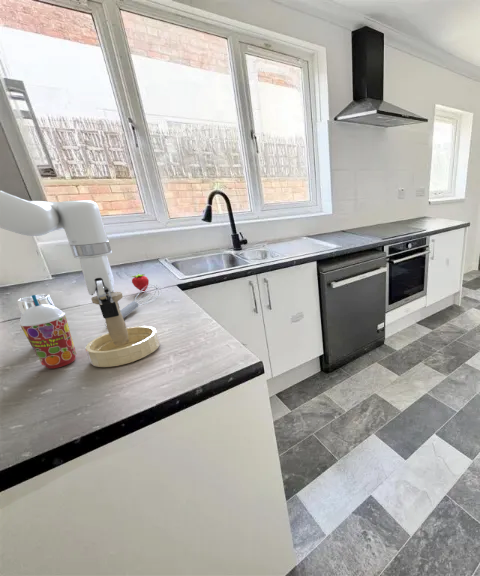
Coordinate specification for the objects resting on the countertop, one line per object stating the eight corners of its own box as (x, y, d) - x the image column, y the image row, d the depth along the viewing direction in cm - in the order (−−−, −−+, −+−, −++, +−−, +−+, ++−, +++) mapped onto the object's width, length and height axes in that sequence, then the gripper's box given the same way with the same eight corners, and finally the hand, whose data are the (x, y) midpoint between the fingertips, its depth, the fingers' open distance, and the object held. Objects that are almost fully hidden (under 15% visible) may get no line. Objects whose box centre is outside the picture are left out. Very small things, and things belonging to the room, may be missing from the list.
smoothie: (34, 375, 79) (1, 303, 73) (45, 361, 86) (15, 294, 80) (78, 365, 84) (51, 296, 77) (84, 352, 90) (60, 287, 84)
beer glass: (39, 350, 92) (19, 303, 87) (32, 344, 95) (13, 299, 90) (70, 340, 97) (53, 296, 93) (63, 335, 101) (46, 292, 96)
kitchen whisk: (96, 330, 104) (90, 312, 102) (151, 296, 136) (147, 282, 134) (117, 328, 105) (111, 311, 103) (166, 295, 137) (163, 281, 135)
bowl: (88, 376, 79) (82, 359, 77) (94, 351, 91) (88, 336, 89) (161, 355, 88) (157, 340, 86) (158, 335, 100) (154, 321, 98)
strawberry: (137, 295, 136) (131, 274, 132) (133, 292, 140) (127, 271, 137) (153, 292, 140) (147, 271, 137) (149, 288, 145) (143, 268, 141)
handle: (105, 346, 88) (89, 297, 83) (132, 337, 93) (118, 290, 88) (111, 351, 86) (94, 300, 81) (138, 341, 90) (124, 293, 86)
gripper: (76, 246, 85) (97, 307, 90) (66, 257, 72) (91, 327, 78) (112, 243, 89) (129, 301, 95) (108, 253, 76) (128, 320, 82)
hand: (111, 312), depth 86 cm, fingers closed on handle, 5 cm apart
